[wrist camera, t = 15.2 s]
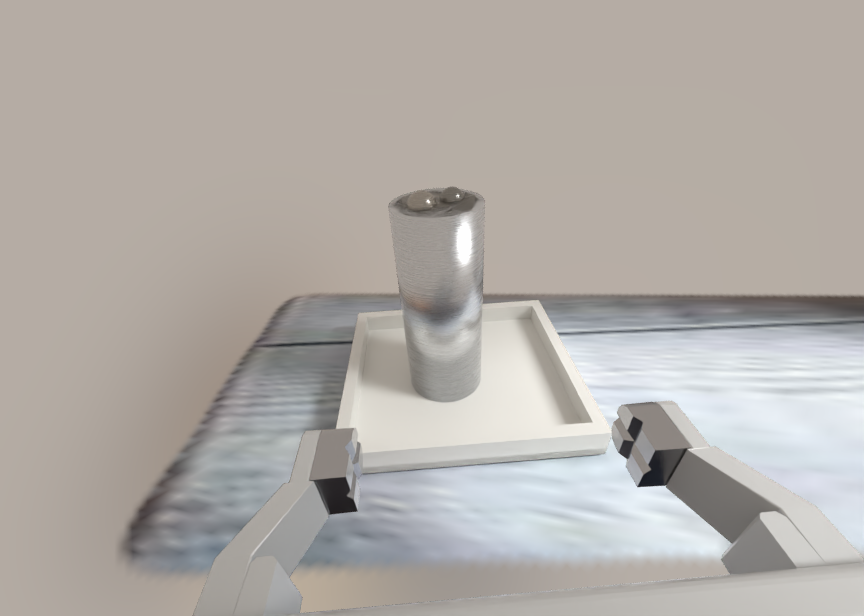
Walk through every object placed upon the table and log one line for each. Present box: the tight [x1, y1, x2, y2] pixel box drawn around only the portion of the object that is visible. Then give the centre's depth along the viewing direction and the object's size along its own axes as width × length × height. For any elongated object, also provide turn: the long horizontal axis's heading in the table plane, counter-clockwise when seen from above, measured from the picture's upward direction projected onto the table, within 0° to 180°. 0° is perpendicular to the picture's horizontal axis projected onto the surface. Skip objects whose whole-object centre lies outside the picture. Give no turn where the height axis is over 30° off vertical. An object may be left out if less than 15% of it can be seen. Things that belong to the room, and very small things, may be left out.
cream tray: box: [336, 300, 612, 474], centre depth 27 cm, size 16×14×2 cm
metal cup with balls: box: [389, 187, 485, 403], centre depth 23 cm, size 5×5×14 cm
